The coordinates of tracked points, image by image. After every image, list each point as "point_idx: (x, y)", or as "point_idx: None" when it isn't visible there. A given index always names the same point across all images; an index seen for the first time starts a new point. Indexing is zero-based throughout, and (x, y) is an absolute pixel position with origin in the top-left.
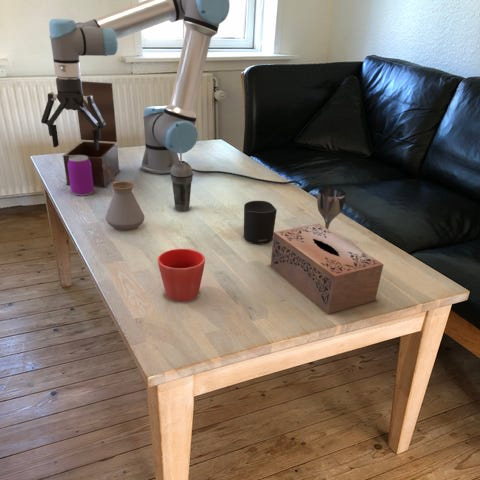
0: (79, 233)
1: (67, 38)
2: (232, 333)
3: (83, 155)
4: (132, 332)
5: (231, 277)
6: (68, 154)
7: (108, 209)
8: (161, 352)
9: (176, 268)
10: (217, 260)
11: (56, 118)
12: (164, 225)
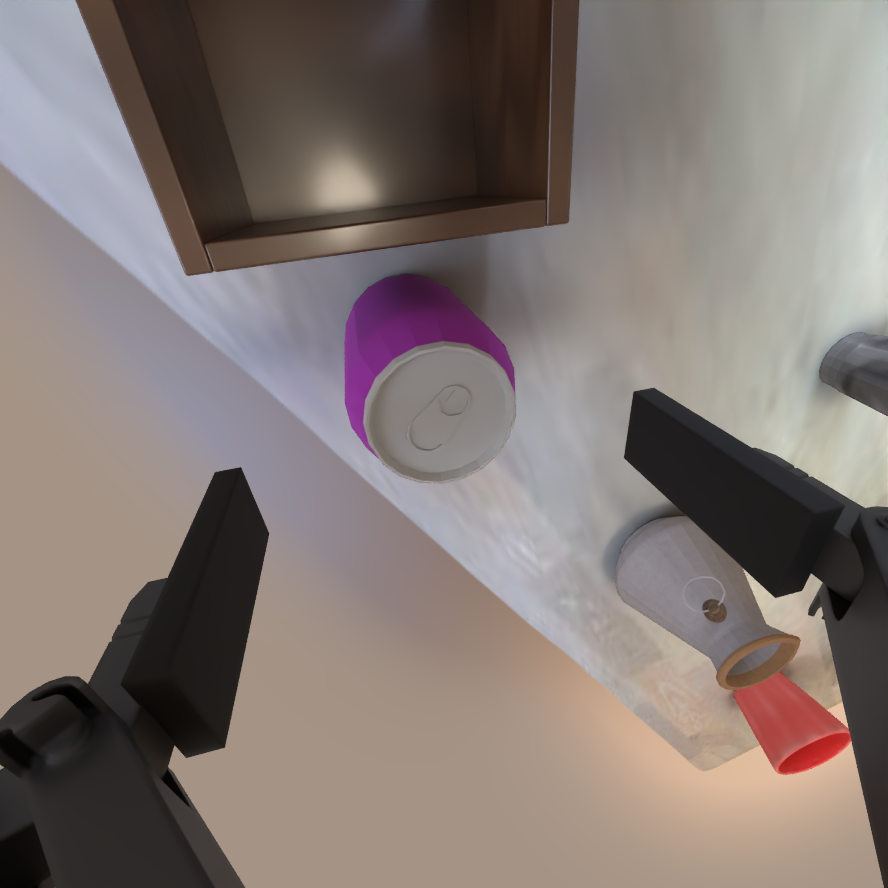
0: (541, 618)
1: None
2: None
3: (456, 351)
4: (686, 750)
5: None
6: (180, 172)
7: (646, 612)
8: (717, 754)
9: (800, 771)
10: None
11: (197, 840)
12: None
